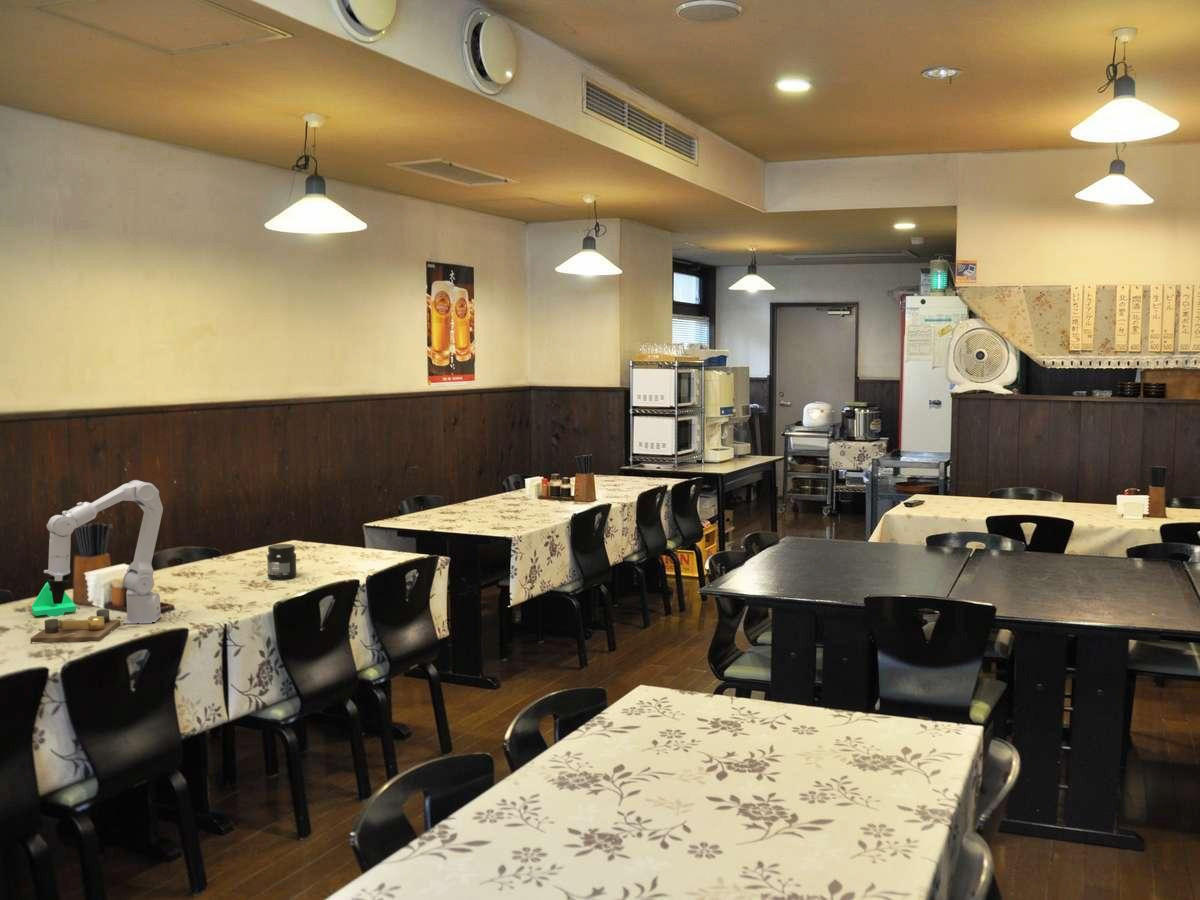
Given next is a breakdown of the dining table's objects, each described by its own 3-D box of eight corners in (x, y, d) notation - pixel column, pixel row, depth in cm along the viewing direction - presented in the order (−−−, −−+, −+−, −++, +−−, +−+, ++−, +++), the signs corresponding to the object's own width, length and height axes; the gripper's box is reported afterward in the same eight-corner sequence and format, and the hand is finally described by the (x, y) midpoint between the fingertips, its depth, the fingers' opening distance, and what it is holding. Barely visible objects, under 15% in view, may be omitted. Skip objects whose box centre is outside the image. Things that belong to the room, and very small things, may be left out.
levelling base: (120, 624, 335) (119, 608, 335) (99, 641, 316) (98, 624, 316) (56, 626, 333) (55, 610, 333) (30, 643, 314) (29, 626, 313)
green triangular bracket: (35, 619, 342) (33, 587, 341) (31, 614, 348) (30, 582, 347) (76, 614, 349) (75, 582, 348) (72, 609, 355) (71, 578, 354)
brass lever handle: (106, 626, 326) (106, 615, 326) (101, 630, 322) (101, 619, 322) (64, 627, 325) (63, 616, 325) (58, 631, 321) (58, 620, 320)
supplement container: (293, 573, 411) (293, 542, 410) (299, 579, 402) (298, 547, 400) (265, 576, 406) (264, 544, 405) (270, 581, 397) (269, 549, 396)
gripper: (45, 552, 327) (43, 596, 327) (43, 559, 313) (42, 606, 314) (71, 551, 330) (69, 596, 330) (70, 559, 317) (69, 605, 317)
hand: (57, 600), depth 322 cm, fingers open, 7 cm apart
